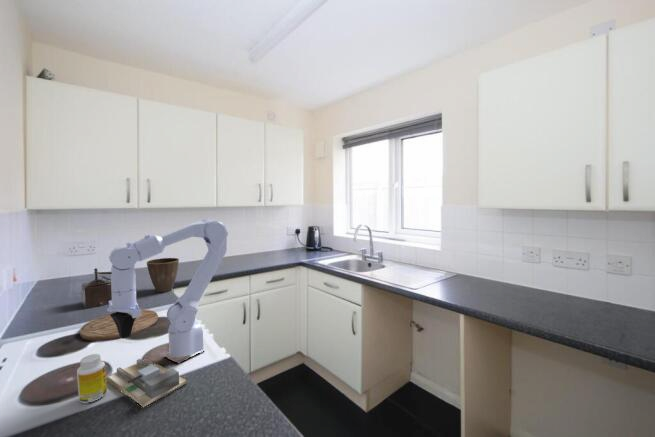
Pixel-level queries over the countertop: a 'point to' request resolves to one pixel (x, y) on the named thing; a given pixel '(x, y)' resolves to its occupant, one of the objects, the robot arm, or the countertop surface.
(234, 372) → the countertop surface
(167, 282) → the plant pot
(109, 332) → the trivet
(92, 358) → the supplement bottle
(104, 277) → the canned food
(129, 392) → the gauge base
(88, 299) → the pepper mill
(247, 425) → the countertop surface
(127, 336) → the robot arm
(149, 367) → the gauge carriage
